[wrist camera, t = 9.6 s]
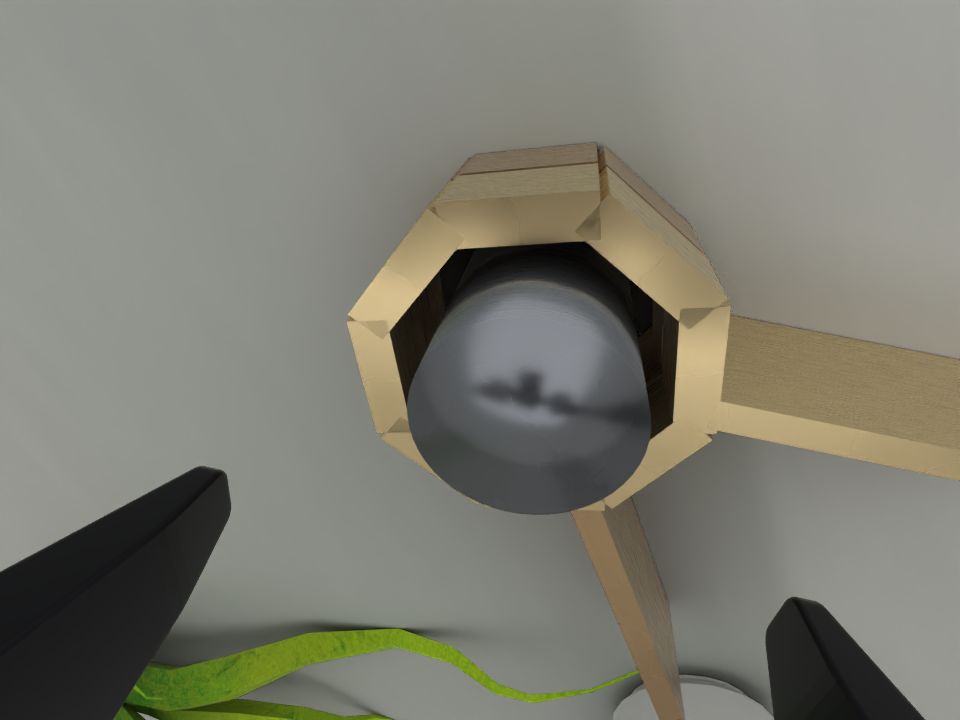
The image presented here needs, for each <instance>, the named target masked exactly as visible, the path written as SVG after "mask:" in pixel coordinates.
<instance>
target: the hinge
mask: <svg viewBox="0 0 960 720" xmlns="http://www.w3.org/2000/svg"><path fill="white" fill-rule="evenodd" d="M577 241H586V242H587V243H588V244H590V245H591V246H592V247H593V248H594V249H595V250H597V251H598V252H599V253H600V254H601V255H602V256H604V257H605V258H606V259H607V260H608V261H609V262H611V263H612V264H613V265H614V266H615V267H616V268H618V269H619V270H620V271H621V272H622V273H623V274H624V275H626V276H627V277H628V278H629V279H630V280H631V281H633V282H634V283H635V284H636V285H637V286H638V287H640V288H641V289H642V290H643V291H644V292H645V293H647V294H648V295H649V296H650V297H651V298H652V299H653V313H652V327H651V328H649V329H648V330H647V331H646V332H645V333H644V334H642V335H641V336H640V337H639V338H638V339H639V345H640V352H641V358H642V364H643V370H644V376H645V382H646V388H647V394H648V401H649V407H650V413H651V433H650V441H649V444H648V447H647V451H646V453H645V455H644V458H643V460H642V462H641V464H640V465H639V467H638V468H637V470H636V471H635V472H634V474H633V475H632V476H631V477H630V478H629V479H628V480H627V481H626V483H625V484H624V485H622V486H621V487H620V488H619V489H617V490H616V491H615V492H614V493H612V494H610V495H609V496H607V497H605V498H604V499H602V500H600V501H598V502H596V503H594V504H591V505H589V506H586V507H583V508H580V509H577V510H573V511H571V513H572V516H573V518H574V520H575V523H576V525H577V527H578V530H579V532H580V535H581V537H582V539H583V542H584V544H585V546H586V549H587V551H588V553H589V556H590V558H591V560H592V563H593V565H594V567H595V570H596V572H597V575H598V577H599V579H600V582H601V584H602V586H603V589H604V591H605V593H606V596H607V598H608V600H609V603H610V605H611V607H612V610H613V612H614V615H615V617H616V619H617V622H618V624H619V626H620V629H621V631H622V633H623V636H624V638H625V640H626V643H627V645H628V647H629V650H630V652H631V655H632V657H633V659H634V662H635V664H636V666H637V669H638V671H639V673H640V676H641V678H642V680H643V683H644V685H645V687H646V690H647V692H648V695H649V697H650V699H651V702H652V704H653V706H654V709H655V711H656V713H657V716H658V718H659V720H685V713H684V706H683V699H682V692H681V685H680V678H679V671H678V664H677V657H676V650H675V643H674V636H673V629H672V622H671V615H670V607H669V602H668V599H667V597H666V594H665V591H664V588H663V585H662V582H661V580H660V577H659V574H658V571H657V568H656V566H655V563H654V560H653V557H652V554H651V551H650V549H649V546H648V543H647V540H646V537H645V535H644V532H643V529H642V526H641V523H640V520H639V518H638V515H637V512H636V509H635V506H634V504H633V501H632V498H631V496H632V495H633V494H635V493H636V492H637V491H639V490H640V489H642V488H643V487H645V486H646V485H648V484H649V483H651V482H652V481H654V480H655V479H656V478H658V477H659V476H661V475H662V474H664V473H665V472H667V471H668V470H670V469H671V468H673V467H674V466H675V465H677V464H678V463H680V462H681V461H683V460H684V459H686V458H687V457H689V456H690V455H692V454H693V453H694V452H696V451H697V450H699V449H700V448H702V447H703V446H705V445H706V444H708V443H709V442H711V441H712V436H711V434H717V431H722V432H727V433H732V434H736V435H741V436H746V437H751V438H756V439H760V440H765V441H770V442H775V443H780V444H785V445H789V446H794V447H799V448H804V449H809V450H814V451H818V452H823V453H828V454H833V455H838V456H842V457H847V458H852V459H857V460H862V461H867V462H871V463H876V464H881V465H886V466H891V467H895V468H900V469H905V470H910V471H915V472H920V473H924V474H929V475H934V476H939V477H944V478H949V479H953V480H958V481H960V360H959V359H954V358H948V357H943V356H938V355H933V354H928V353H923V352H918V351H912V350H907V349H902V348H897V347H892V346H887V345H881V344H876V343H871V342H866V341H861V340H856V339H851V338H845V337H840V336H835V335H830V334H825V333H820V332H814V331H809V330H804V329H799V328H794V327H789V326H784V325H778V324H773V323H768V322H763V321H758V320H753V319H748V318H742V317H737V316H732V315H730V311H731V306H730V304H729V302H728V300H727V299H728V298H727V296H726V294H725V292H724V290H723V288H722V286H721V284H720V282H719V280H718V278H717V276H716V274H715V272H714V270H713V268H712V267H711V265H710V263H709V261H708V259H707V257H706V256H705V253H704V251H703V249H702V247H701V245H700V243H699V241H698V239H697V237H696V235H695V233H694V231H693V229H692V227H691V225H690V224H689V223H688V222H687V221H686V220H685V219H684V218H683V217H682V216H681V215H680V214H678V213H677V212H676V211H675V210H674V209H673V208H672V207H671V206H670V205H669V204H668V203H666V202H665V201H664V200H663V199H662V198H661V197H660V196H659V195H658V194H657V193H656V192H655V191H653V190H652V189H651V188H650V187H649V186H648V185H647V184H646V183H645V182H644V181H643V180H641V179H640V178H639V177H638V176H637V175H636V174H635V173H634V172H633V171H632V170H631V169H629V168H628V167H627V166H626V165H625V164H624V163H623V162H622V161H621V160H620V159H619V158H617V157H616V156H615V155H614V154H613V153H612V152H611V151H610V150H609V149H608V148H607V147H605V146H604V145H603V146H602V147H601V148H600V149H599V150H598V152H597V145H596V142H594V143H584V144H574V145H564V146H553V147H543V148H533V149H523V150H513V151H503V152H492V153H482V154H475V156H474V157H473V158H472V159H470V158H469V159H468V160H467V161H466V162H465V164H464V165H463V166H462V167H461V168H460V169H459V171H458V172H457V173H456V174H455V175H454V176H453V178H452V179H451V180H450V181H449V182H448V183H447V185H446V186H445V187H444V188H443V189H442V190H441V192H440V193H439V194H438V195H437V196H436V198H435V199H434V200H433V201H432V202H431V203H430V205H429V206H428V207H427V208H426V209H425V211H424V212H423V214H422V215H421V216H420V218H419V219H418V220H417V222H416V223H415V224H414V226H413V227H412V228H411V230H410V231H409V232H408V234H407V235H406V236H405V238H404V239H403V241H402V242H401V243H400V245H399V246H398V247H397V249H396V250H395V251H394V253H393V254H392V255H391V257H390V258H389V259H388V261H387V262H386V264H385V265H384V266H383V268H382V269H381V270H380V272H379V273H378V274H377V276H376V277H375V278H374V280H373V281H372V282H371V284H370V285H369V286H368V288H367V289H366V291H365V292H364V293H363V295H362V296H361V297H360V299H359V300H358V301H357V303H356V304H355V305H354V307H353V308H352V309H351V311H350V312H349V313H348V315H349V316H351V317H350V318H349V319H348V321H347V325H348V329H349V333H350V336H351V340H352V344H353V348H354V351H355V355H356V359H357V362H358V366H359V370H360V374H361V377H362V381H363V385H364V389H365V392H366V396H367V400H368V404H369V407H370V411H371V415H372V419H373V422H374V426H375V430H376V433H383V434H382V437H381V439H382V440H384V441H385V442H387V443H388V444H389V445H391V446H392V447H394V448H395V449H397V450H398V451H400V452H401V453H402V454H404V455H405V456H407V457H408V458H410V459H411V460H413V461H414V462H416V463H417V464H418V465H420V466H421V467H423V468H424V469H426V470H427V471H429V472H430V473H431V474H433V475H434V476H436V477H437V478H439V479H440V480H442V479H441V478H440V477H439V476H438V475H437V474H436V473H435V472H434V471H433V470H432V469H431V468H430V466H429V465H428V464H427V463H426V462H425V460H424V459H423V457H422V456H421V454H420V452H419V451H418V449H417V447H416V445H415V442H414V440H413V438H412V435H411V431H410V428H409V423H408V416H407V401H408V395H409V389H410V386H411V383H412V380H413V378H414V375H415V373H416V371H417V369H418V367H419V365H420V363H421V361H422V359H423V357H424V355H425V353H426V351H427V349H428V346H429V344H430V342H431V340H432V338H433V336H434V334H435V332H436V330H437V328H438V326H439V324H440V322H441V320H442V317H443V315H444V313H445V311H446V307H445V302H444V296H443V290H442V284H441V278H440V272H439V270H440V269H441V268H442V266H443V265H444V264H445V263H446V261H447V260H448V259H449V258H450V256H451V255H452V254H453V253H454V252H455V250H456V249H468V248H484V247H499V246H515V245H530V244H546V243H562V242H577ZM442 481H443V480H442ZM443 482H444V481H443ZM445 483H446V482H445ZM446 484H447V483H446ZM447 485H448V484H447ZM449 486H450V485H449ZM450 487H451V486H450ZM456 491H457V490H456ZM459 493H460V492H459ZM460 494H461V493H460ZM462 495H463V494H462ZM463 496H465V495H463ZM465 497H466V496H465ZM466 498H468V499H469V500H471V501H472V502H474V503H475V504H476V505H477V504H479V502H477V501H475V500H473V499H471V498H469V497H466ZM483 505H484V504H483ZM484 507H490V506H487V505H484Z"/></svg>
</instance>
